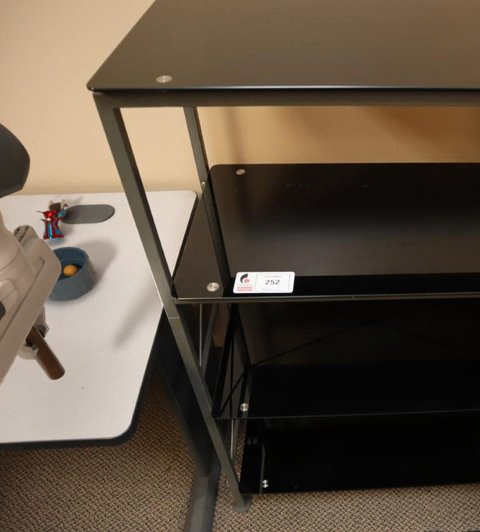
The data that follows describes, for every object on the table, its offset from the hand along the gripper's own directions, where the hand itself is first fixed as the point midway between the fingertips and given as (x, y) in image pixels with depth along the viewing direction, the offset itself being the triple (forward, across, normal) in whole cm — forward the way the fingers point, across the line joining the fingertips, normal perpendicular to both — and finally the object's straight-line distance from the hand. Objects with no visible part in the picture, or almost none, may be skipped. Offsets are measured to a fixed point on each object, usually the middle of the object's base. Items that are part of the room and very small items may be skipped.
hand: (36, 344), depth 70 cm
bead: (+15, -29, -11) cm, 34 cm away
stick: (+7, 0, 0) cm, 7 cm away
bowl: (+17, -27, -11) cm, 34 cm away
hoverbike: (+17, -43, -19) cm, 50 cm away
